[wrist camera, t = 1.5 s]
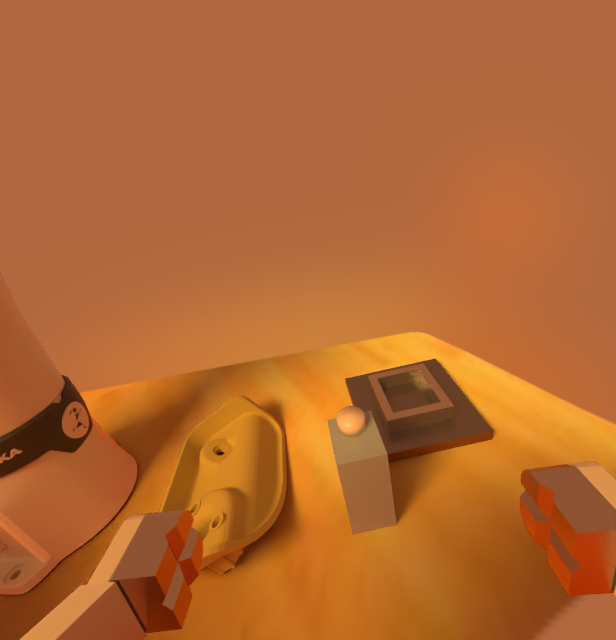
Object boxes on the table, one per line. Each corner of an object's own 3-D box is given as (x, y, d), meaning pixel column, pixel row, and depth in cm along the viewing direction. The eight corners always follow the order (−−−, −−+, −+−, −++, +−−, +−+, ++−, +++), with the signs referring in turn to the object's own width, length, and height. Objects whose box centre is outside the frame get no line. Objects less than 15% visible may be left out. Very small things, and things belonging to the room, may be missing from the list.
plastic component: (187, 431, 44) (246, 387, 42) (227, 464, 46) (284, 423, 45) (123, 610, 25) (224, 544, 24) (195, 648, 28) (291, 591, 26)
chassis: (372, 465, 36) (368, 445, 35) (346, 385, 49) (343, 368, 47) (492, 439, 36) (493, 418, 35) (435, 365, 49) (434, 347, 47)
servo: (352, 534, 30) (334, 454, 26) (342, 485, 35) (325, 410, 30) (396, 524, 30) (385, 443, 26) (380, 476, 35) (369, 400, 30)
